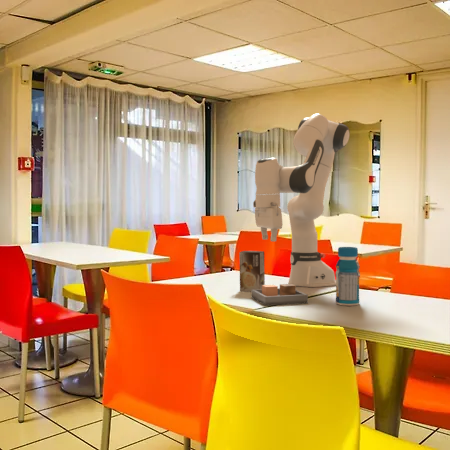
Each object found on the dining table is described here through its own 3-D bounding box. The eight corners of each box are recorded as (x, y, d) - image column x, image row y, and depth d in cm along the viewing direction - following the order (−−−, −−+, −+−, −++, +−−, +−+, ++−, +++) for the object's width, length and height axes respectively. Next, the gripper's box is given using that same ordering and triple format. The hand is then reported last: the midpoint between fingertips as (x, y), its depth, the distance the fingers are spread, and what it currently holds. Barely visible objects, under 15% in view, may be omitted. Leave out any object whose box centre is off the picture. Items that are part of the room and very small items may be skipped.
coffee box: (265, 290, 221) (265, 251, 220) (260, 292, 215) (260, 252, 214) (244, 288, 224) (244, 250, 224) (239, 291, 218) (238, 251, 218)
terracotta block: (273, 296, 200) (273, 284, 200) (277, 298, 196) (277, 286, 196) (261, 297, 199) (261, 285, 199) (265, 299, 195) (265, 287, 194)
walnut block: (291, 295, 202) (291, 283, 202) (295, 297, 197) (295, 285, 197) (279, 296, 201) (279, 284, 200) (284, 298, 196) (284, 286, 196)
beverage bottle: (346, 307, 185) (346, 249, 184) (330, 303, 193) (330, 247, 192) (364, 304, 189) (365, 247, 188) (348, 300, 197) (349, 246, 196)
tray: (291, 295, 208) (291, 287, 208) (307, 303, 192) (307, 294, 192) (251, 297, 204) (251, 289, 204) (265, 305, 188) (265, 297, 188)
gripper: (286, 202, 187) (287, 242, 187) (267, 202, 206) (268, 238, 207) (268, 202, 185) (270, 243, 186) (251, 202, 205) (252, 239, 206)
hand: (269, 240), depth 197 cm, fingers open, 8 cm apart
